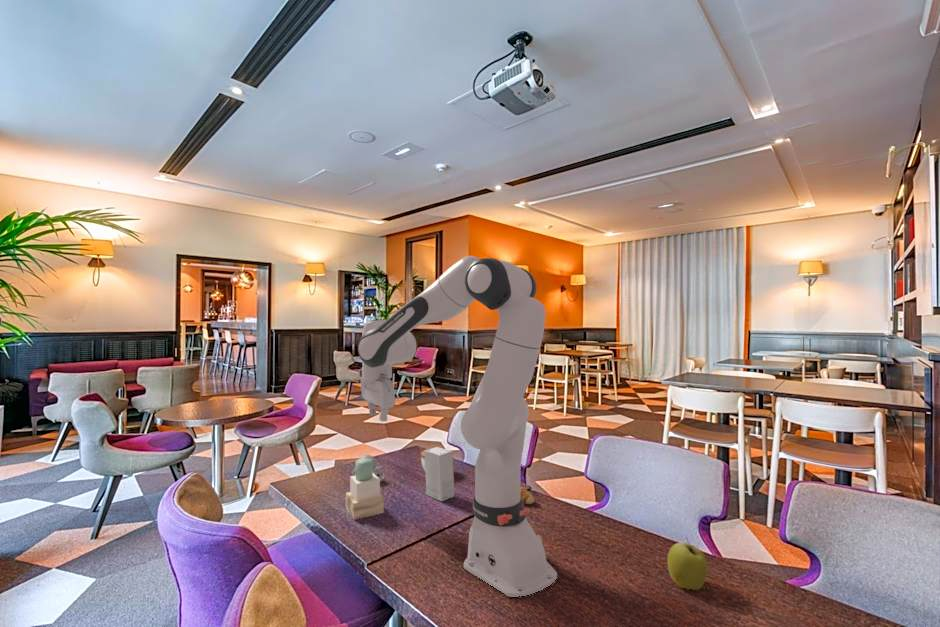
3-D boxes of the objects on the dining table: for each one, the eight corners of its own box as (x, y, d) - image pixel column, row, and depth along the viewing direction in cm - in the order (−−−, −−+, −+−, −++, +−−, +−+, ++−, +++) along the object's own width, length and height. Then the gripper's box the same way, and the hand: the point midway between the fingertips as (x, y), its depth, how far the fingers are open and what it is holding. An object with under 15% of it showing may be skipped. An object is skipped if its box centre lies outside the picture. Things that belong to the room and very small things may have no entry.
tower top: (379, 496, 126) (379, 479, 126) (356, 501, 122) (356, 484, 122) (372, 488, 132) (372, 472, 132) (350, 492, 128) (350, 476, 128)
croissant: (538, 513, 132) (544, 487, 135) (524, 509, 124) (531, 481, 127) (483, 495, 144) (489, 471, 147) (468, 490, 137) (475, 465, 140)
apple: (654, 575, 92) (664, 529, 93) (679, 577, 95) (688, 532, 96) (686, 597, 85) (696, 546, 86) (712, 599, 88) (721, 550, 89)
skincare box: (454, 497, 136) (454, 451, 136) (440, 502, 132) (440, 455, 132) (438, 489, 142) (438, 445, 142) (424, 494, 138) (424, 449, 138)
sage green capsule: (374, 478, 126) (374, 462, 126) (358, 482, 123) (358, 465, 124) (369, 473, 130) (369, 457, 130) (353, 476, 128) (353, 460, 128)
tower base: (383, 513, 125) (383, 497, 125) (353, 521, 120) (353, 503, 120) (374, 502, 133) (374, 486, 133) (345, 509, 128) (345, 492, 128)
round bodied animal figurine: (372, 493, 145) (379, 472, 144) (348, 475, 150) (354, 454, 149) (385, 485, 152) (392, 465, 150) (361, 468, 157) (368, 448, 155)
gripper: (400, 374, 121) (400, 423, 121) (376, 369, 138) (376, 411, 138) (378, 376, 118) (379, 426, 117) (357, 370, 135) (357, 413, 135)
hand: (378, 418), depth 128 cm, fingers open, 8 cm apart
